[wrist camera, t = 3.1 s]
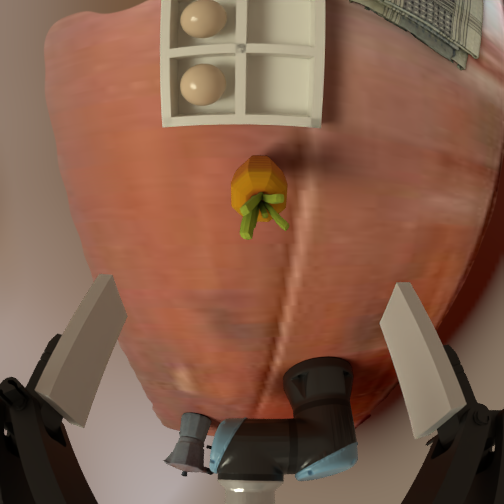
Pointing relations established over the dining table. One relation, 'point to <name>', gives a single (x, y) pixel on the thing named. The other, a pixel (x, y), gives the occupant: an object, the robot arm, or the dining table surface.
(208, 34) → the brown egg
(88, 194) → the dining table surface
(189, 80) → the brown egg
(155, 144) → the dining table surface
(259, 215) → the carrot
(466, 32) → the dish towel
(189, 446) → the moka pot
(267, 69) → the carton
